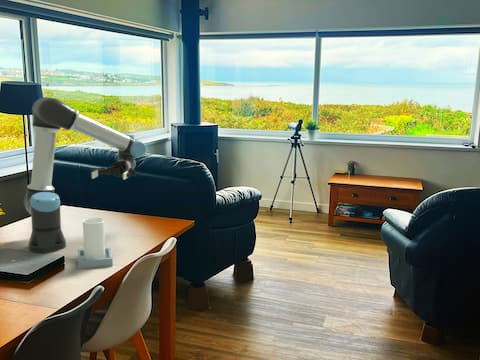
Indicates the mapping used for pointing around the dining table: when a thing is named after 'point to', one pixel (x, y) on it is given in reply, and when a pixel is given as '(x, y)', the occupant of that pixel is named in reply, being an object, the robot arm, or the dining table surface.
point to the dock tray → (95, 260)
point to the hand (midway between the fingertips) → (108, 176)
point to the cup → (94, 238)
